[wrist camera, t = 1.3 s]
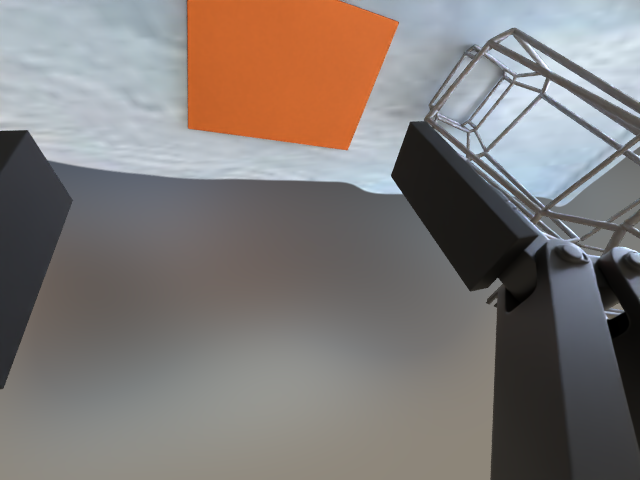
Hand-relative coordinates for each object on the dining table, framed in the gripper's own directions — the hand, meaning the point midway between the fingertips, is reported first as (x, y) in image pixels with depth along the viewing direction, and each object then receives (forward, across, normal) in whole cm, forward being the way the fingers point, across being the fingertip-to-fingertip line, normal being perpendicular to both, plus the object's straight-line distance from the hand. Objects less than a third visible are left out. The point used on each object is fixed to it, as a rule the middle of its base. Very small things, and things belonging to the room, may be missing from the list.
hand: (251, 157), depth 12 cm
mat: (+24, +7, -6) cm, 25 cm away
